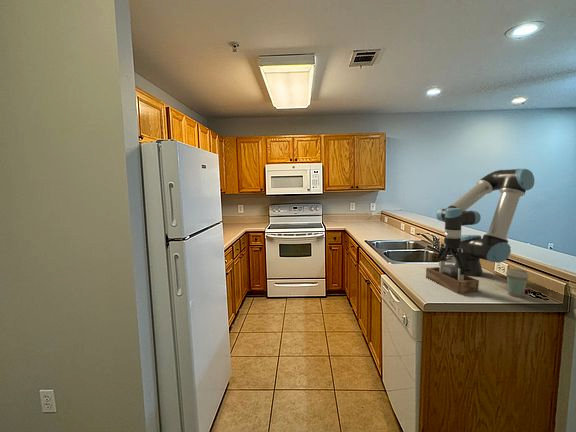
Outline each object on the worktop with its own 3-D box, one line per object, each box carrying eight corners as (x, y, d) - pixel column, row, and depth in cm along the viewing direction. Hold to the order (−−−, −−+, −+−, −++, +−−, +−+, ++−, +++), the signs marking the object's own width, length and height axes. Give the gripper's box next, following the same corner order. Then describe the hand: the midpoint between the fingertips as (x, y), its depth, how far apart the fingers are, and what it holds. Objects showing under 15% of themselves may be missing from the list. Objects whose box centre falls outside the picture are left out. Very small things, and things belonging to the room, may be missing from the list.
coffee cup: (527, 300, 130) (529, 274, 129) (503, 295, 136) (505, 271, 134) (527, 294, 137) (529, 270, 135) (505, 290, 142) (506, 267, 141)
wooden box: (443, 276, 164) (443, 266, 164) (478, 292, 140) (478, 280, 140) (425, 278, 162) (426, 267, 162) (457, 293, 139) (458, 281, 138)
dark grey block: (450, 281, 154) (451, 264, 153) (457, 284, 149) (458, 266, 148) (442, 282, 153) (443, 264, 152) (449, 285, 149) (450, 267, 147)
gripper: (430, 233, 160) (429, 269, 163) (464, 242, 136) (462, 284, 138) (442, 233, 162) (440, 268, 164) (478, 241, 137) (476, 283, 139)
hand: (450, 276), depth 151 cm, fingers open, 13 cm apart
